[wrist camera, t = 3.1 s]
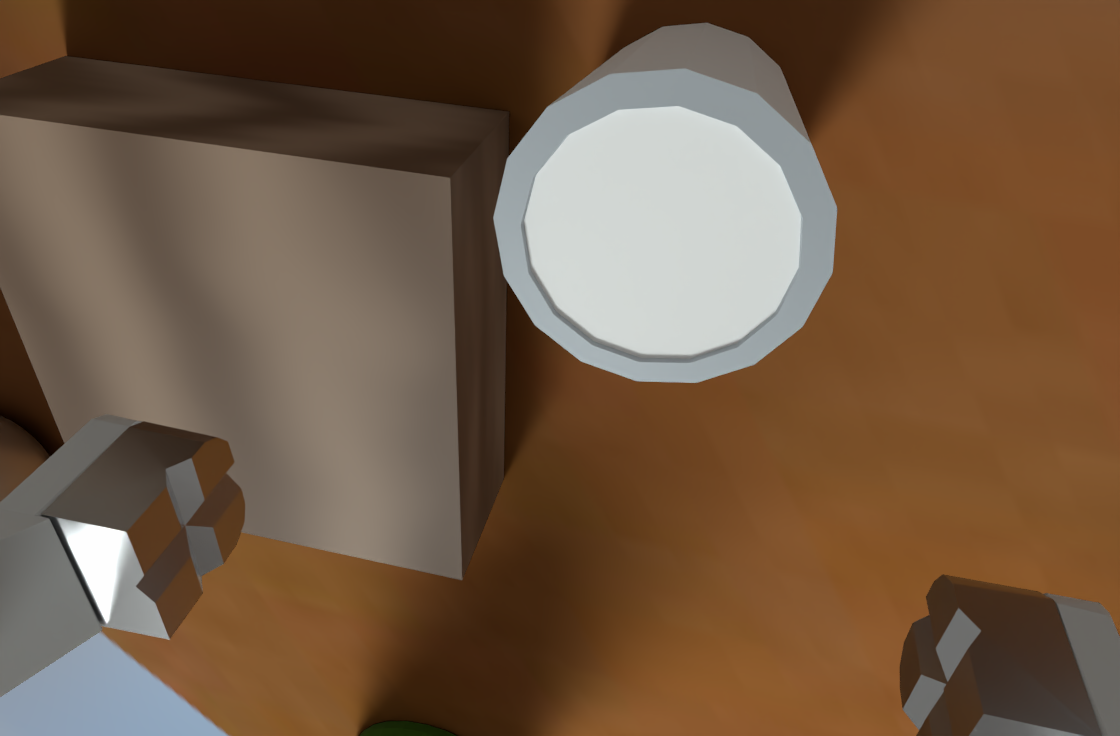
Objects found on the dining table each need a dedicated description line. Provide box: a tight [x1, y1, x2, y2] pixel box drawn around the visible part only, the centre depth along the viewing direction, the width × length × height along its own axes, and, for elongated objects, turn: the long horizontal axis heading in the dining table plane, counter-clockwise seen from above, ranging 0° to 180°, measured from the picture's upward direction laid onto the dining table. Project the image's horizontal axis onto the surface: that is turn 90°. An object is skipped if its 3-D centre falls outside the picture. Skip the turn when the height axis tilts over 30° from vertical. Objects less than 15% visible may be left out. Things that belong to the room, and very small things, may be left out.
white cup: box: [493, 23, 837, 383], centre depth 19 cm, size 7×7×7 cm
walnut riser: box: [0, 56, 509, 580], centre depth 25 cm, size 14×14×5 cm
